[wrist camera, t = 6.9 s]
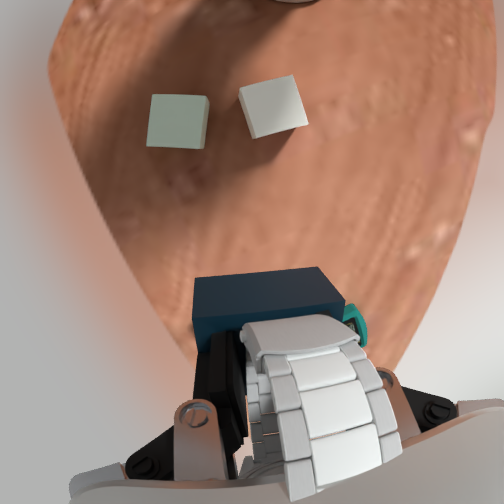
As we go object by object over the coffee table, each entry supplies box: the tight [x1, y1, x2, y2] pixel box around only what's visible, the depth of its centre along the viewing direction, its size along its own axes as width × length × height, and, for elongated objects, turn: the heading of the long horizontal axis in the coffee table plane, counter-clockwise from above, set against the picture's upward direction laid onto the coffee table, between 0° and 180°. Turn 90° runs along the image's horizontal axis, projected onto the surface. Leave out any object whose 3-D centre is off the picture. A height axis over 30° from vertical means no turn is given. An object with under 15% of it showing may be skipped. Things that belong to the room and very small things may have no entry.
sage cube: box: [146, 94, 210, 149], centre depth 26 cm, size 5×5×5 cm
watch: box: [192, 267, 402, 502], centre depth 8 cm, size 6×8×11 cm
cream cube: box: [238, 75, 308, 139], centre depth 26 cm, size 5×5×5 cm
